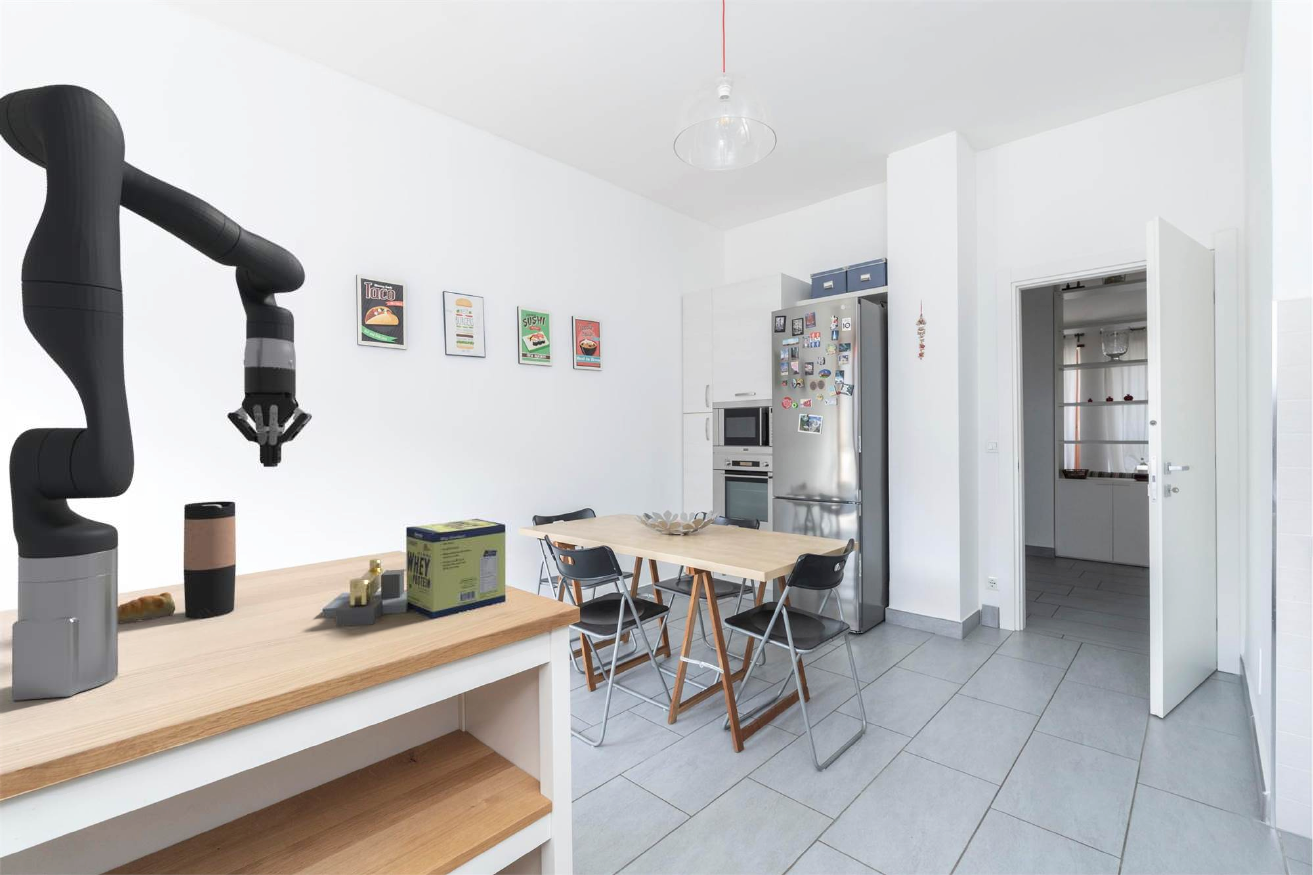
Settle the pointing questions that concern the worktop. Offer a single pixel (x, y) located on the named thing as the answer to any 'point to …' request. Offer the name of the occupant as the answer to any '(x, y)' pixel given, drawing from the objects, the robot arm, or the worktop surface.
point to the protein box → (455, 566)
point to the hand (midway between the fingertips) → (270, 466)
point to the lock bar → (366, 584)
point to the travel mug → (209, 559)
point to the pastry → (146, 608)
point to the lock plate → (371, 602)
